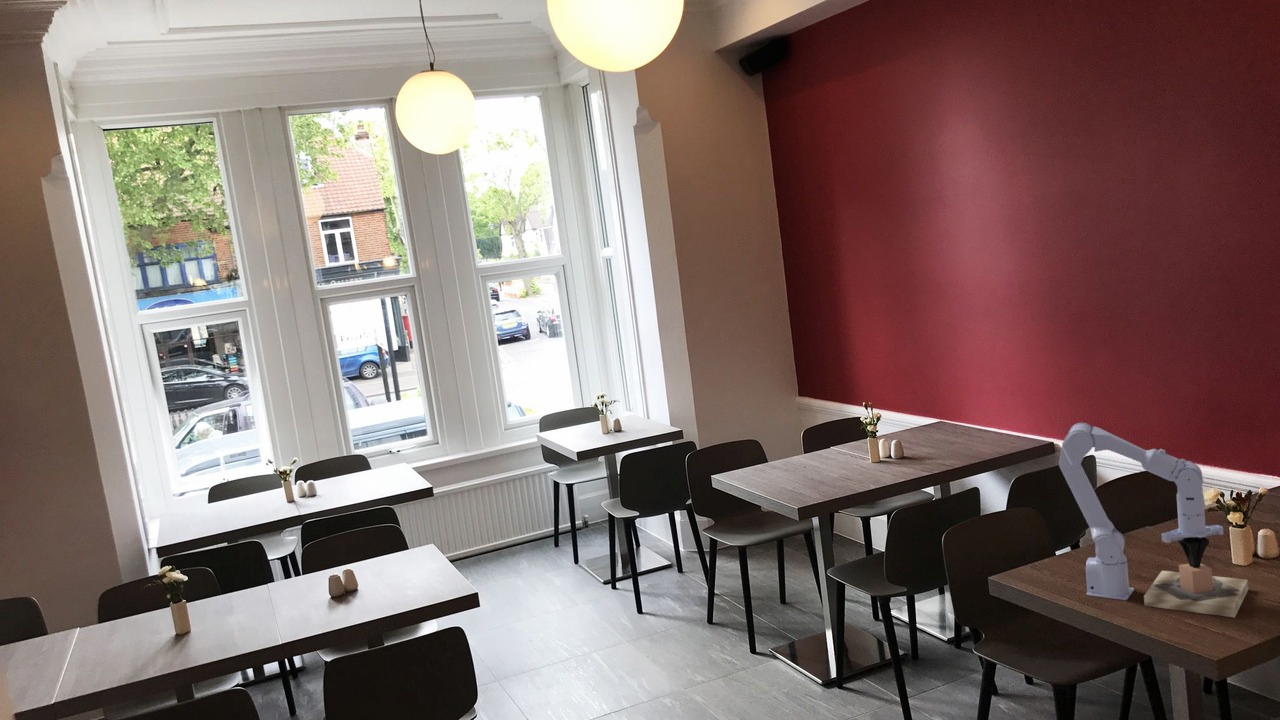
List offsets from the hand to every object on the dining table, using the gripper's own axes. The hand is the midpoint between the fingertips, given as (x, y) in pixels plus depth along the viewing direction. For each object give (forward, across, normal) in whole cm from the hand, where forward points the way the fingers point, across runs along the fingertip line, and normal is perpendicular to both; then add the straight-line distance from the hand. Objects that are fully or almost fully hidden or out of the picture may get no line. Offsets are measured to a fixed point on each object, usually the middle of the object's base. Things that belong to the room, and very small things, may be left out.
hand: (1194, 566), depth 234 cm
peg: (+8, 0, 0) cm, 8 cm away
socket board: (+8, 0, 0) cm, 8 cm away
